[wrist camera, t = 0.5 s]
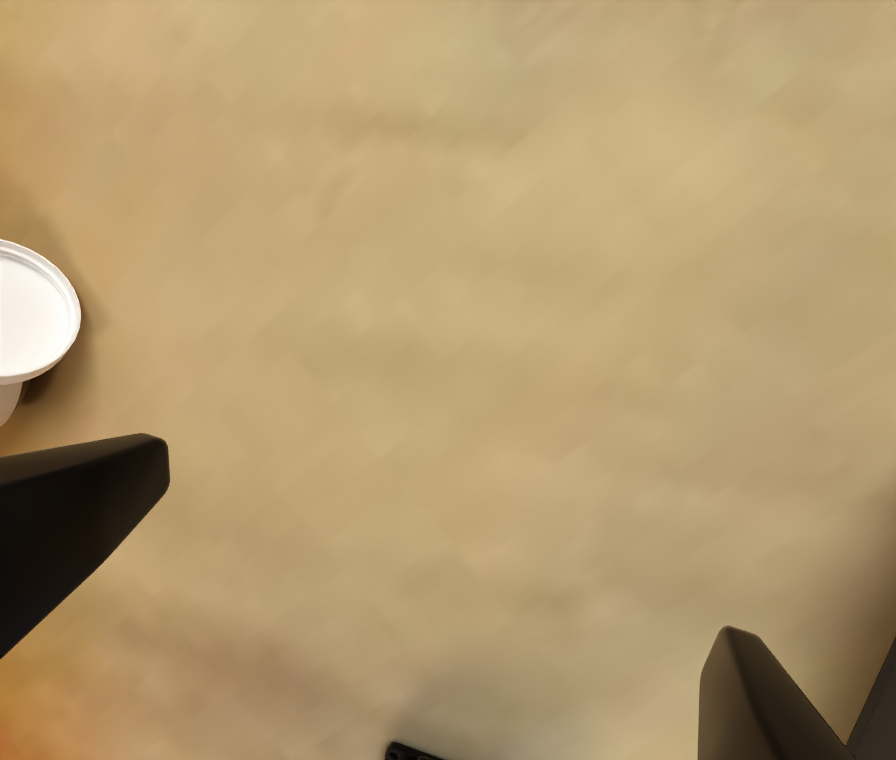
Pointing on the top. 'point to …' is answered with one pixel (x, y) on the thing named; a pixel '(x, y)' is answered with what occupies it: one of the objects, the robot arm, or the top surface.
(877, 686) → the basket
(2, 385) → the spread jar
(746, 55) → the top surface
